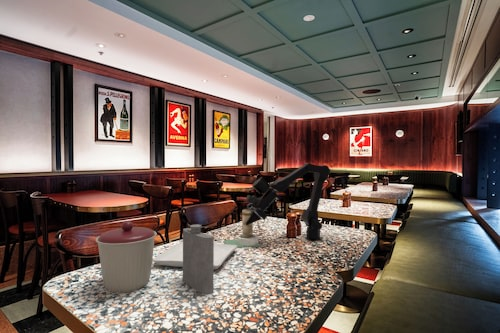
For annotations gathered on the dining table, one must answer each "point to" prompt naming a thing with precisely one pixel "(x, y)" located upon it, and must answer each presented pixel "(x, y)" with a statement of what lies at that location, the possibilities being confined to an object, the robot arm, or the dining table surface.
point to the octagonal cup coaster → (243, 241)
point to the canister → (126, 257)
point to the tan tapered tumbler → (247, 228)
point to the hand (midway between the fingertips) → (244, 223)
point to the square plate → (176, 255)
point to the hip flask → (198, 259)
